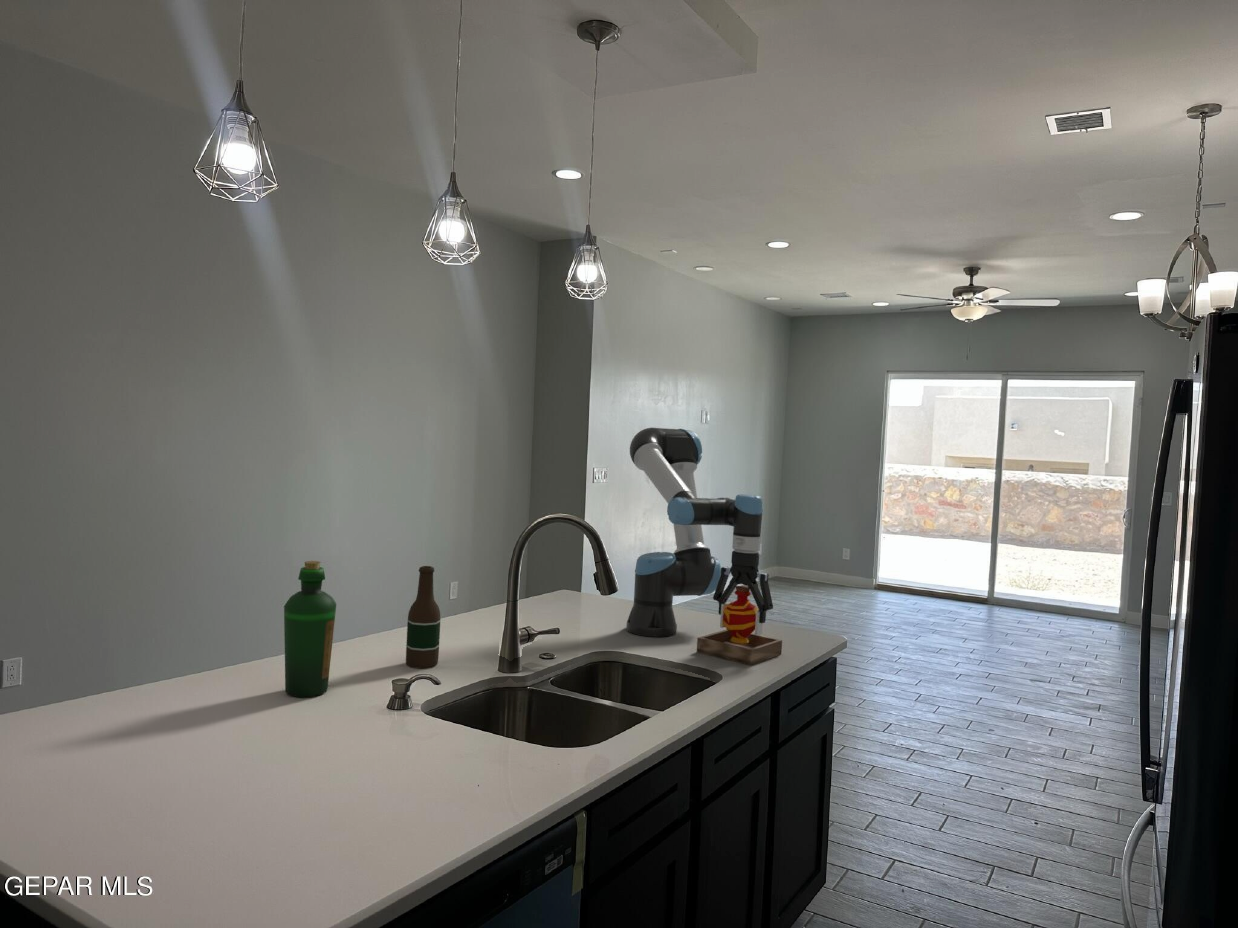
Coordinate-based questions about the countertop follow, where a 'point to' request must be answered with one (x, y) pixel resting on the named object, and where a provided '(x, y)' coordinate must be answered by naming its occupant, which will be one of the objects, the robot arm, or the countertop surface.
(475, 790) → the countertop surface
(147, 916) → the countertop surface
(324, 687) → the bottle
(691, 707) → the countertop surface
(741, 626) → the potion bottle
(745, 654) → the walnut tray
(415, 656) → the beer bottle
